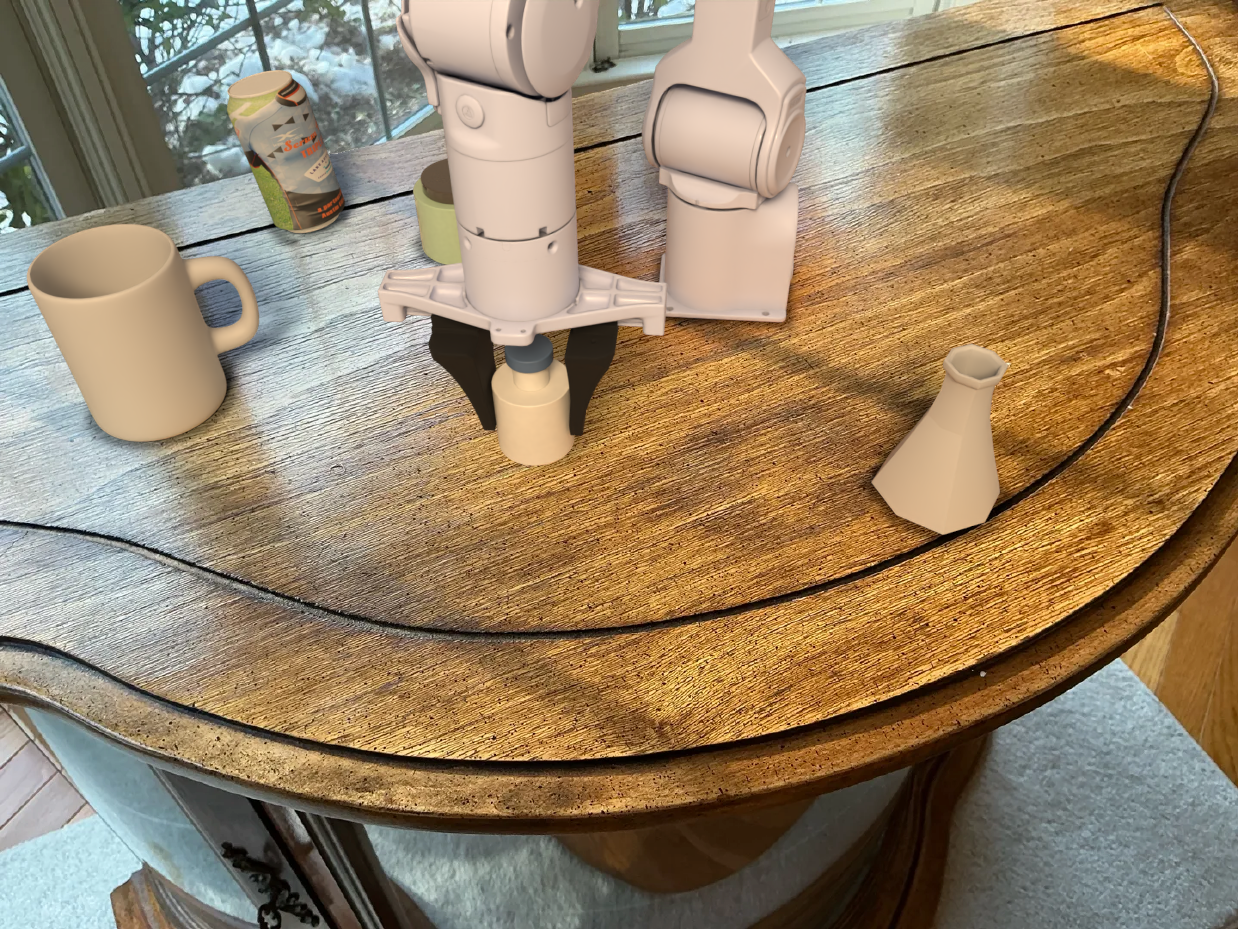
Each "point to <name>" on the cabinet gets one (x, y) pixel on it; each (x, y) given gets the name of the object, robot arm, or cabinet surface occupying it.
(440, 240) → the sage jar
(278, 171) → the beverage can
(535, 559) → the cabinet surface
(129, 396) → the mug
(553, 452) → the cream bottle
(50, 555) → the cabinet surface
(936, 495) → the flask
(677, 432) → the cabinet surface
